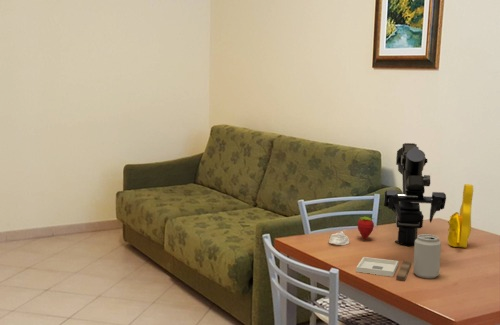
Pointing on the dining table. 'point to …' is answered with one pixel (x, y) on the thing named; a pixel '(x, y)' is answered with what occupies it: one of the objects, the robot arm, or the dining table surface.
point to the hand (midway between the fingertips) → (415, 220)
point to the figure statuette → (461, 221)
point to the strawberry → (365, 226)
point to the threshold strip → (403, 270)
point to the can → (427, 256)
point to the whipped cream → (339, 239)
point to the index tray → (377, 266)
